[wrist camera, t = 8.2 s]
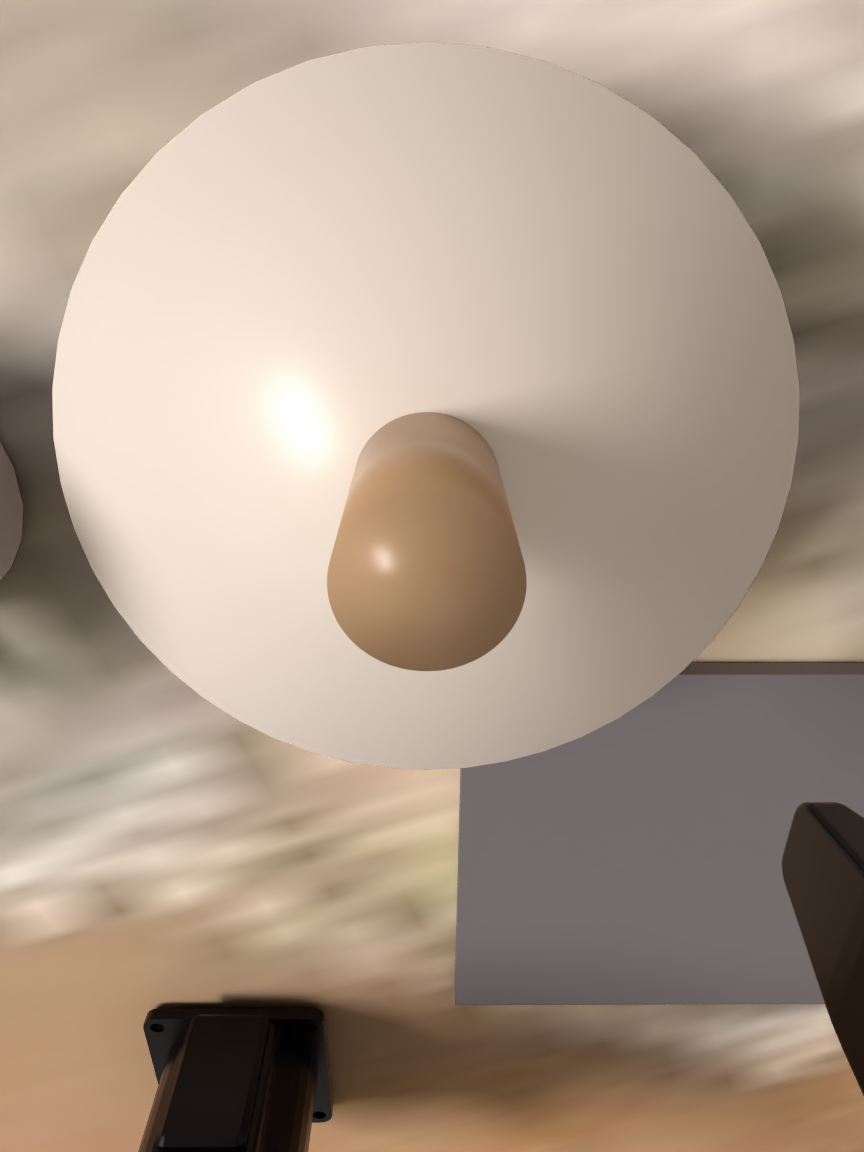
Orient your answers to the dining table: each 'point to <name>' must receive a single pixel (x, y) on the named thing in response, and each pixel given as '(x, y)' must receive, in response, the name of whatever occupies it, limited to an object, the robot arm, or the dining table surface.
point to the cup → (9, 513)
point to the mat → (657, 845)
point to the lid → (425, 406)
